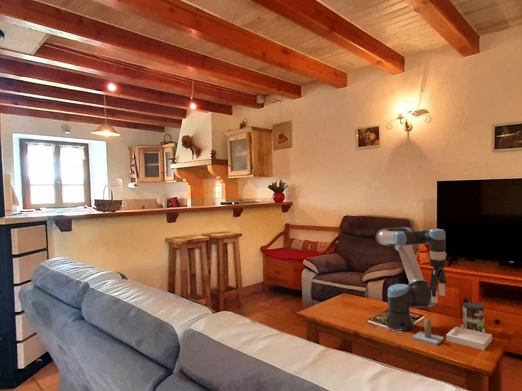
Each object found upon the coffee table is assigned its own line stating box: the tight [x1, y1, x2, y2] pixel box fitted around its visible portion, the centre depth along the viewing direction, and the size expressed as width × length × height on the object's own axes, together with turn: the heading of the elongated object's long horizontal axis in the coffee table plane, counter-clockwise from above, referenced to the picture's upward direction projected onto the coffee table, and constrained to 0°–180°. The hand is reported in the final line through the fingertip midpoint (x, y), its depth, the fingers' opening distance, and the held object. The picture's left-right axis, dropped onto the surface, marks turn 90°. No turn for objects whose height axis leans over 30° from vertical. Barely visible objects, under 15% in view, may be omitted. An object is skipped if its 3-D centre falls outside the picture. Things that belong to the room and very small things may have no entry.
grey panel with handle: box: [412, 318, 444, 347], centre depth 183 cm, size 12×10×11 cm
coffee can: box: [462, 301, 486, 332], centre depth 193 cm, size 10×10×14 cm
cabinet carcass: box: [445, 323, 493, 351], centre depth 180 cm, size 17×15×5 cm
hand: (438, 298), depth 183 cm, fingers open, 13 cm apart
